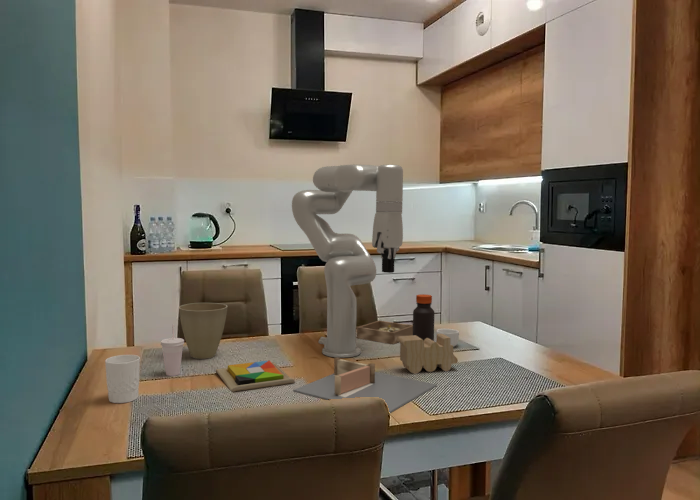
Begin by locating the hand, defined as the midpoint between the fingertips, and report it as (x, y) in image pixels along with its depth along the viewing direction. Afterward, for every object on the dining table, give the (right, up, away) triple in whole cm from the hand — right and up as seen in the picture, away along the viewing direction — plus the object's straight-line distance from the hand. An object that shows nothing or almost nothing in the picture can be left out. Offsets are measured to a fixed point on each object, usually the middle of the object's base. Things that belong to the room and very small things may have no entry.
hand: (388, 272), depth 160 cm
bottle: (+12, -28, +17) cm, 35 cm away
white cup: (-67, -30, -23) cm, 77 cm away
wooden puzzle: (-38, -30, -6) cm, 48 cm away
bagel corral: (+2, -26, +44) cm, 51 cm away
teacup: (+22, -27, +33) cm, 48 cm away
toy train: (+12, -29, +4) cm, 32 cm away
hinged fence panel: (-10, -30, -16) cm, 35 cm away
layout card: (-7, -30, -14) cm, 34 cm away
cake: (+3, -26, +43) cm, 50 cm away
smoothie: (-61, -29, -3) cm, 68 cm away
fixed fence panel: (-10, -29, -7) cm, 32 cm away
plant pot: (-57, -28, +16) cm, 66 cm away
